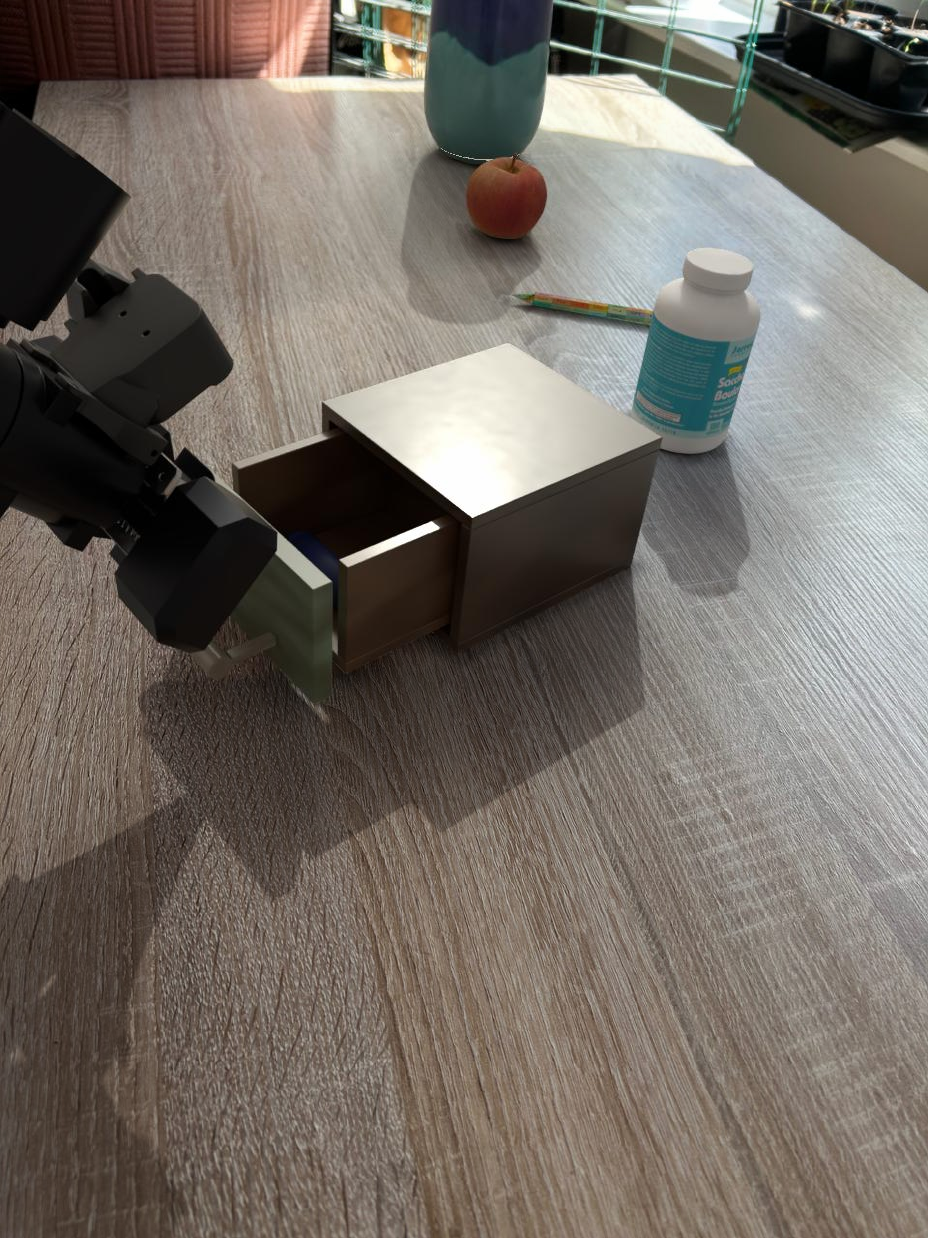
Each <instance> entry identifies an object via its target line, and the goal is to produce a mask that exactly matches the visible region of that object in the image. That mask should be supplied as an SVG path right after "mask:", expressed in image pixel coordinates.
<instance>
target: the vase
mask: <svg viewBox="0 0 928 1238" xmlns="http://www.w3.org/2000/svg"><path fill="white" fill-rule="evenodd" d="M553 7H554V0H431V6H430V16H429V25H428V34H427V45H426V55H425V65H424V68H425V69H424V78H423V83H424V84H423V108H424V117H425V121H426V125H427V128H428V130H429V133H430V135H431V137H432V139H433V140H434V142H435V144H436V146H437V147H438V149H439V150H440V151H441V152H442V153H443V154H445V155H446V156H448V157H449V158H451V159H453V160H455V161H458V162H462V163H466V164H472V165H478V166H481V165H482V164H484V163H486V162H488V161H486V160H474V159H496V158H501V157H512V156H514V153H515V152H516V153H517V154H520V153H522V154H523V152H524V151H525V150H526V149H527V148H528V146H529V145H530V144H531V143H532V141H533V139H534V138H535V136H536V134H537V132H538V130H539V127H540V123H541V119H542V116H543V111H544V106H545V99H546V93H547V92H546V91H547V81H548V71H549V61H550V60H549V59H550V46H551V34H552V22H553V11H554V10H553V9H554V8H553ZM440 148H442V149H443V150H442V149H440ZM444 150H445V151H447V152H445V151H444ZM448 152H449V153H448ZM450 153H452V154H450ZM453 154H455V155H453ZM456 155H459V156H462V157H459V156H456ZM520 155H521V154H520ZM463 157H469V158H474V159H468V158H463ZM517 158H519V156H517V157H516V159H517Z"/></svg>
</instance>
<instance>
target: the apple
mask: <svg viewBox="0 0 928 1238" xmlns="http://www.w3.org/2000/svg"><path fill="white" fill-rule="evenodd" d="M517 155H518V154H517V153H516V152H515V153H514V156H513V158H510V157H501V158H496V159H493V160H490V161H488V162H486V163H484V164H482V165H478V167H477V168H476V169H475V170H474V171H473V173H472V174H471V175H470V177H469V180H468V182H467V186H466V191H465V202H466V209H467V212H468V215H469V218H470V220H471V221H472V223H473V225H474V226H475V227H476V228H477V230H479V231H480V232H481V233H483V234H484V235H487V236H490V237H493V238H497V239H504V240H517V239H520V238H523V237H524V236H525V235H527V234H529V232H531V231H532V230H533V229H534V228H535V226H536V225H537V224H538V223H539V221H540V219H541V218H542V216H543V214H544V212H545V209H546V207H547V206H546V205H547V200H548V188H547V183H546V181H545V177H544V176H543V174H542V173H541V172H540V171H539V170H538V169H537V168H536V167H534V166H533V165H531V164H529V163H527V162H525V161H522V160H520V159H517V158H518V157H517ZM516 157H517V158H516Z"/></svg>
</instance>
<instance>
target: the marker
mask: <svg viewBox="0 0 928 1238" xmlns="http://www.w3.org/2000/svg"><path fill="white" fill-rule="evenodd" d="M286 539H287V540H288V541H289V542H290V543H291V544H292V545H293V546H294V547H295V548H297V549H298V550H299V551H300V552H301V553H302V554H303V555H304V556H305V557H306V558H307V559H308V560H309V561H311V562H312V563H313V564H314V565H315V566H316V567H317V568H318V569H319V570H320V571H321V572H322V573H324V574H325V575H326V576H327V577H328V578H329V579H330V580H331V581H332V582H333V606H334V607H335V608H336V609H337V610H338V567H339V559H340V558H339V557H338V556H337V555H335V554H334V553H333V552H332V551H331V550H330V549H329V548H328V547H326V546H325V545H324V544H323V543H322V542H321V541H320V540H319V539H318V538H316V537H315V536H314V535H313V534H311V533H310V532H307V531H301V530H300V531H295V532H292V533H291V534H289V535H288V536H287V537H286Z"/></svg>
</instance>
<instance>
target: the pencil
mask: <svg viewBox="0 0 928 1238" xmlns="http://www.w3.org/2000/svg"><path fill="white" fill-rule="evenodd" d="M511 296H512V297H514V298H516V299H519V300H521V301H523V302H526V303H527V304H529V305H531V306H537V307H544V308H548V309H555V310H560V311H566V312H573V313H578V314H583V315H584V314H585V315H590V316H591V315H592V316H596V317H604V318H610V319H614V320H620V321H627V322H628V321H629V322H634V323H640V324H645V325H650V324H651V319H652V314H653V310H649V309H648V310H647V309H642V308H635V307H629V306H623V305H618V304H611V303H605V302H599V301H592V300H587V299H581V298H575V297H568V296H563V295H557V294H549V293H543V292H537V291H533V292H521V293H513V294H511Z"/></svg>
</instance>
